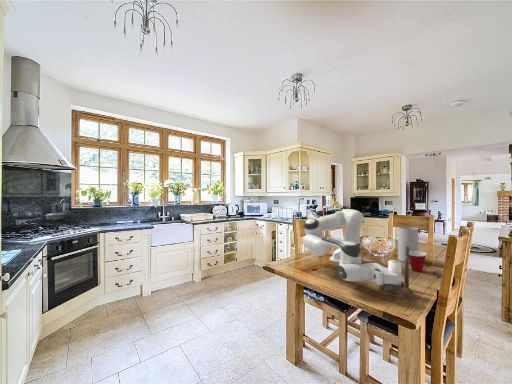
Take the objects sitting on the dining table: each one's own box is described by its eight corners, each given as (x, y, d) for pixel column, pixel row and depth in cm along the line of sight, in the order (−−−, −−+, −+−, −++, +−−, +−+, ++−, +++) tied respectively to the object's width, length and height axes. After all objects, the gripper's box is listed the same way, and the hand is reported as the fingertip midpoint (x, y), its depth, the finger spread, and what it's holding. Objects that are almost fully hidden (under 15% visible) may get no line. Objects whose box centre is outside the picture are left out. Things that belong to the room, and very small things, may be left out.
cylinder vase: (416, 264, 163) (416, 230, 163) (396, 261, 172) (396, 228, 171) (419, 260, 172) (419, 227, 172) (400, 257, 181) (400, 226, 181)
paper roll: (388, 287, 119) (388, 262, 119) (387, 283, 125) (387, 259, 125) (401, 289, 117) (402, 264, 117) (400, 285, 122) (400, 261, 122)
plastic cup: (402, 268, 156) (402, 250, 156) (417, 267, 157) (417, 250, 157) (415, 274, 146) (415, 255, 145) (431, 273, 146) (431, 254, 146)
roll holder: (380, 294, 118) (380, 249, 117) (379, 283, 130) (379, 243, 130) (412, 299, 111) (413, 252, 111) (408, 288, 124) (408, 246, 124)
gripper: (361, 271, 131) (384, 271, 131) (381, 286, 110) (409, 286, 111) (361, 260, 131) (384, 260, 131) (381, 273, 110) (409, 273, 111)
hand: (396, 272), depth 121 cm, fingers closed on paper roll, 6 cm apart
